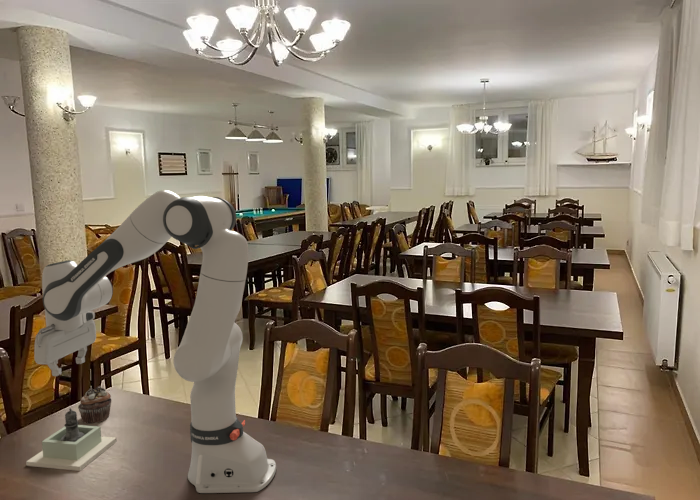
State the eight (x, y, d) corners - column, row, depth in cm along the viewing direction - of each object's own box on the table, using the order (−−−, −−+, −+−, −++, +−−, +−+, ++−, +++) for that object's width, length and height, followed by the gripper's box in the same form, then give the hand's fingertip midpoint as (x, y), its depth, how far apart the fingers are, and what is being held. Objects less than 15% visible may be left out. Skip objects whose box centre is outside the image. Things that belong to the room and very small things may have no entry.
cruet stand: (116, 441, 156) (115, 423, 155) (79, 470, 141) (78, 450, 140) (67, 437, 159) (66, 419, 158) (26, 465, 143) (24, 445, 143)
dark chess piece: (75, 455, 146) (72, 413, 145) (56, 453, 148) (53, 411, 146) (90, 444, 152) (86, 404, 150) (72, 442, 153) (68, 402, 152)
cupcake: (101, 409, 178) (99, 380, 177) (118, 416, 173) (116, 386, 171) (73, 419, 171) (70, 389, 169) (89, 427, 165) (86, 396, 164)
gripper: (46, 331, 134) (52, 383, 136) (98, 311, 154) (102, 357, 156) (24, 330, 136) (30, 382, 137) (78, 310, 156) (83, 356, 157)
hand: (69, 368), depth 147 cm, fingers open, 8 cm apart
